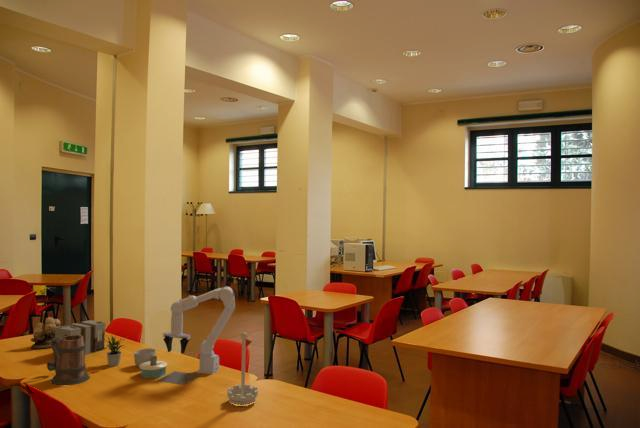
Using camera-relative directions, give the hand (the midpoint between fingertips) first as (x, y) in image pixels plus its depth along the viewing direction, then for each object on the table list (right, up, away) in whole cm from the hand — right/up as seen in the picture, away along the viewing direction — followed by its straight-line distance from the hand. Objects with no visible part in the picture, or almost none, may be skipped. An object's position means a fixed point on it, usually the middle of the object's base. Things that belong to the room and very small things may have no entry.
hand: (176, 352), depth 248 cm
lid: (-10, -5, -6) cm, 12 cm away
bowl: (-10, -10, -6) cm, 15 cm away
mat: (+4, -10, -10) cm, 15 cm away
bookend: (-63, -9, +28) cm, 69 cm away
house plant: (-36, -9, +8) cm, 38 cm away
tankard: (-49, -9, -14) cm, 51 cm away
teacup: (-18, -10, +9) cm, 23 cm away
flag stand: (+39, -11, -36) cm, 55 cm away
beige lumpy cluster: (-87, -8, +40) cm, 96 cm away
